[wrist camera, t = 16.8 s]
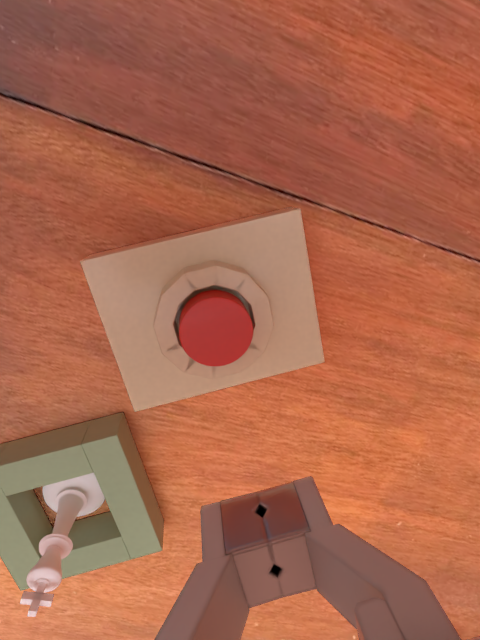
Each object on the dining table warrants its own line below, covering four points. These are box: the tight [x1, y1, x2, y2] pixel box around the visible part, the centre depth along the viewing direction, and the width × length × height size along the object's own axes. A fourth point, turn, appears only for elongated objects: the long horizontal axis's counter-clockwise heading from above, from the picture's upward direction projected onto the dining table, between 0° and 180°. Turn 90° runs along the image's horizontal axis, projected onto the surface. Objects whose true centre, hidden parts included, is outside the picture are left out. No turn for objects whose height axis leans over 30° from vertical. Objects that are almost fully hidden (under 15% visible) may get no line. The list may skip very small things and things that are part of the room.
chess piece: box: [20, 472, 105, 617], centre depth 27 cm, size 5×5×10 cm
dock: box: [0, 412, 164, 590], centre depth 30 cm, size 11×11×3 cm
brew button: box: [179, 290, 253, 366], centre depth 24 cm, size 4×4×2 cm
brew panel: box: [80, 207, 325, 412], centre depth 26 cm, size 14×11×4 cm
